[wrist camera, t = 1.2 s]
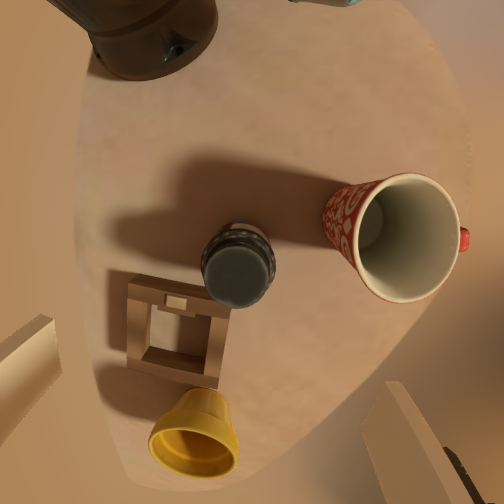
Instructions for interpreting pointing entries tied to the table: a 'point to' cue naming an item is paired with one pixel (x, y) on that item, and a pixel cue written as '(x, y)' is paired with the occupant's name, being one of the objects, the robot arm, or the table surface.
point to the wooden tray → (183, 303)
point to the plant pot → (196, 436)
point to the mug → (397, 234)
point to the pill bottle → (238, 265)
